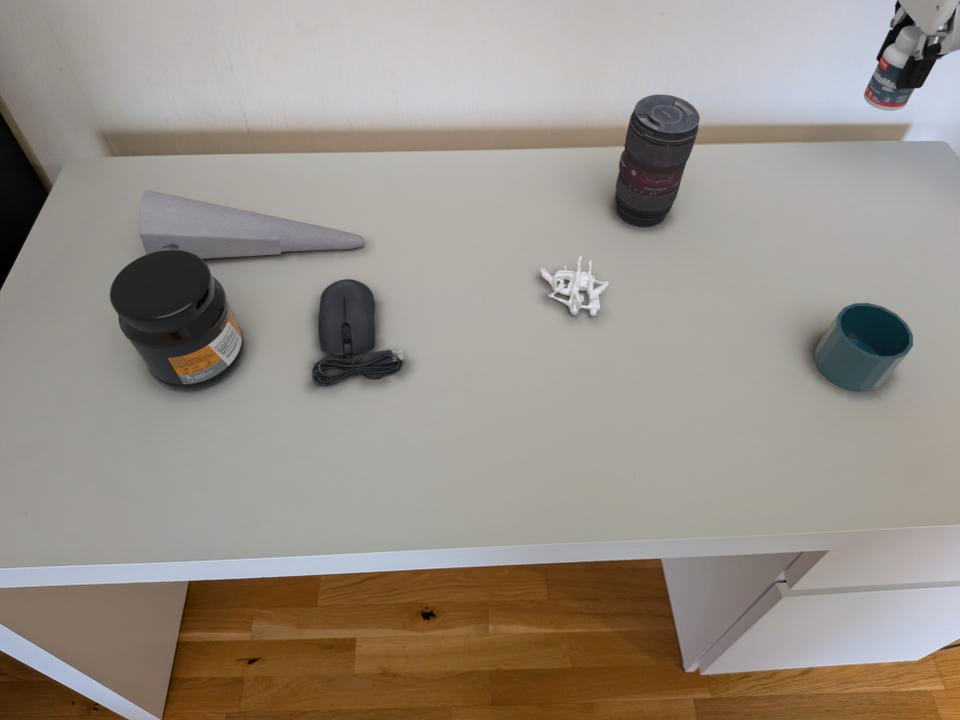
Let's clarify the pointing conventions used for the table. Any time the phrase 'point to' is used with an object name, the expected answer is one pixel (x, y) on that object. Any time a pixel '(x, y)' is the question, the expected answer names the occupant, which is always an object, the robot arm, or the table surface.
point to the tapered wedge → (228, 230)
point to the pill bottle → (893, 72)
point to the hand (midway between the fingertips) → (898, 72)
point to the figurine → (576, 287)
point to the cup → (863, 347)
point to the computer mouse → (350, 334)
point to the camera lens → (654, 158)
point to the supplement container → (177, 319)
